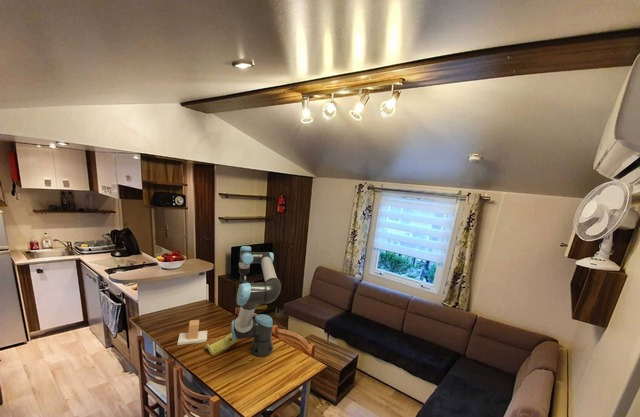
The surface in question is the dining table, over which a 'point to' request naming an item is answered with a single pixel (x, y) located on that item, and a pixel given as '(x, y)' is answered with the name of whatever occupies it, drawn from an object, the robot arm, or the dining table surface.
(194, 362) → the dining table surface
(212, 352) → the plastic component
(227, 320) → the dining table surface
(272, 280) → the robot arm
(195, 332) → the jaw
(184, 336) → the white board with peg
